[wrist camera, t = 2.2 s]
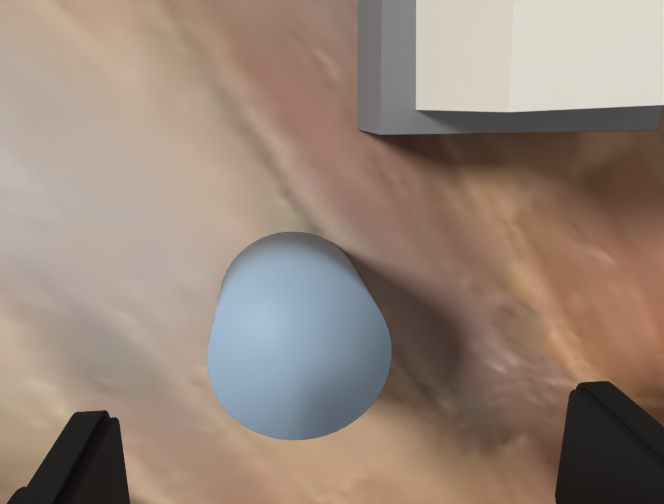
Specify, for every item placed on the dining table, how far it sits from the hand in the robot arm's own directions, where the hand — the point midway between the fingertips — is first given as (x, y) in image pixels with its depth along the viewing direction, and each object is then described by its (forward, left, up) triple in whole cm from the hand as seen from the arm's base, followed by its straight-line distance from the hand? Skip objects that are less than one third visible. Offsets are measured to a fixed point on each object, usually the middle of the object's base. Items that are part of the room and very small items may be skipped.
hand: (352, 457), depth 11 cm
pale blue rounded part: (0, +1, -10) cm, 10 cm away
